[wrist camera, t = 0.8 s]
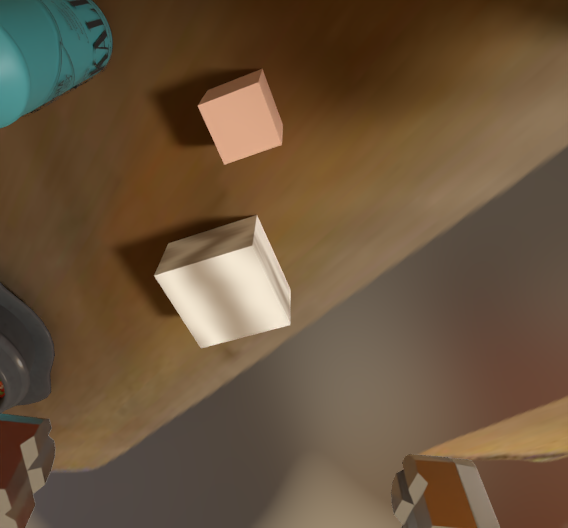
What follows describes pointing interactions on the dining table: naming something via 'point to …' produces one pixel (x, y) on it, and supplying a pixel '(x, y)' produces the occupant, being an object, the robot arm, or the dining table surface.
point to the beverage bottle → (48, 51)
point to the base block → (226, 283)
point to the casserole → (23, 353)
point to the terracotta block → (242, 117)
